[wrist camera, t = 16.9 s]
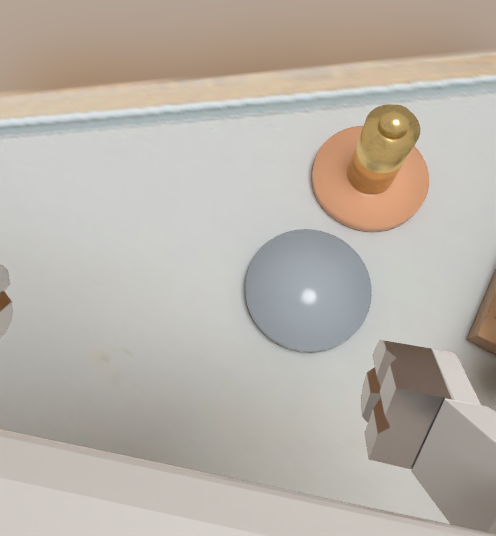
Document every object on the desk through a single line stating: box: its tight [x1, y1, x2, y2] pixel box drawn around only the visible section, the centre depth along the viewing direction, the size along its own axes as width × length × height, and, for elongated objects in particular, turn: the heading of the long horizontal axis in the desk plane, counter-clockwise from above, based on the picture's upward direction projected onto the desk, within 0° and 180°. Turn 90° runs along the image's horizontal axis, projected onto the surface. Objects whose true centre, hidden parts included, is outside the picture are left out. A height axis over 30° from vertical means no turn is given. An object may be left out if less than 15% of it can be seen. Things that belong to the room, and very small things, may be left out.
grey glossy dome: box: [245, 229, 372, 353], centre depth 40 cm, size 11×11×1 cm
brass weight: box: [347, 105, 420, 195], centre depth 39 cm, size 4×4×8 cm
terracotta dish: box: [312, 126, 429, 232], centre depth 43 cm, size 11×11×1 cm
